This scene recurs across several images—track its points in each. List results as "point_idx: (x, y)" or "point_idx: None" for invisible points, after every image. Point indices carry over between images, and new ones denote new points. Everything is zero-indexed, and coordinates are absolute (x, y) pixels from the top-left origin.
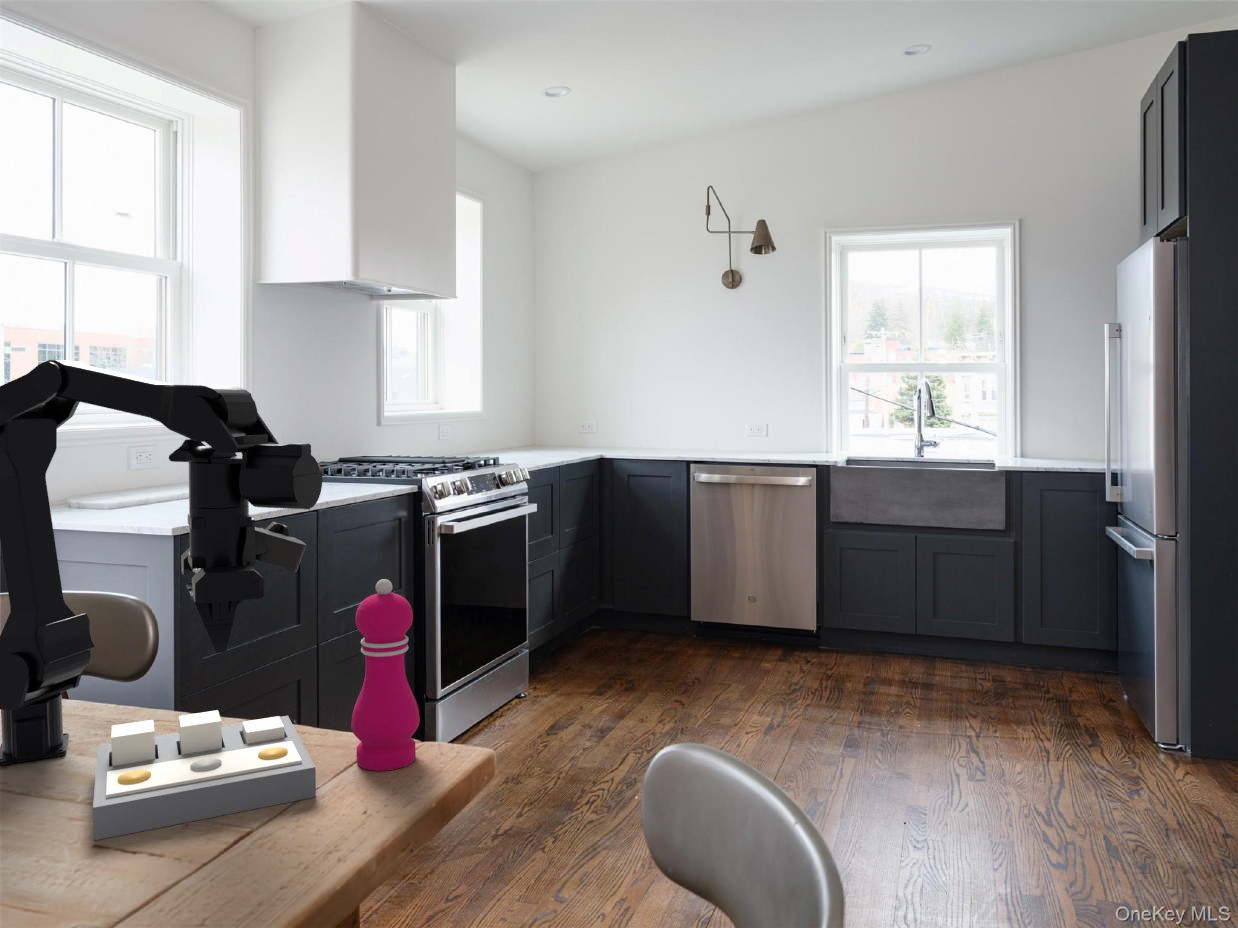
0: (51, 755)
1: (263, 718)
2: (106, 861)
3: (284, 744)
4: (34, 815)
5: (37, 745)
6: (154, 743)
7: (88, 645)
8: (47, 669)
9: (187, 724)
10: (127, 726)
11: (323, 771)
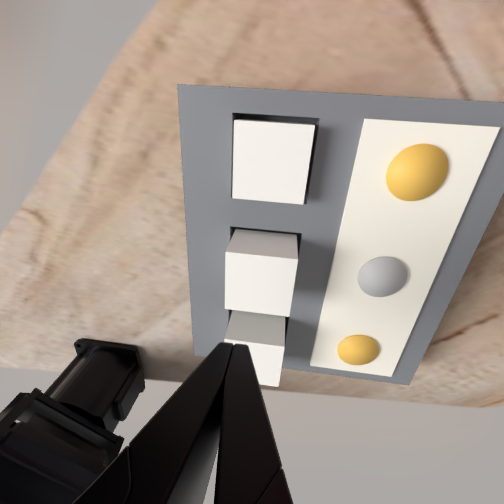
0: (138, 358)
1: (234, 155)
2: (456, 353)
3: (376, 139)
4: (290, 379)
5: (137, 379)
6: (284, 332)
7: (3, 464)
8: (92, 481)
9: (282, 307)
10: None
11: (393, 59)
